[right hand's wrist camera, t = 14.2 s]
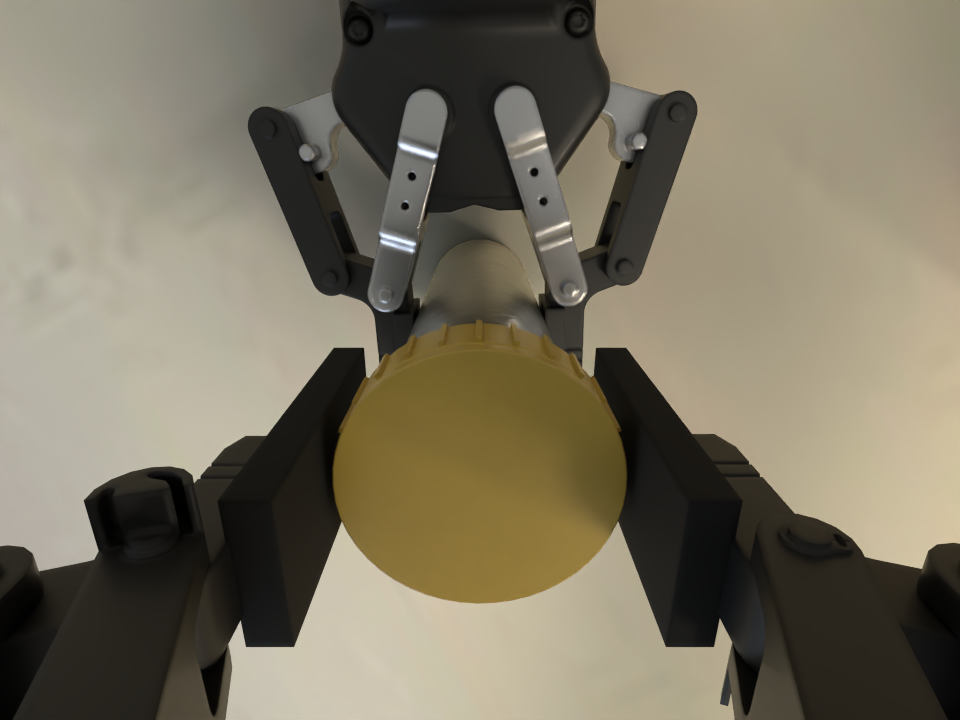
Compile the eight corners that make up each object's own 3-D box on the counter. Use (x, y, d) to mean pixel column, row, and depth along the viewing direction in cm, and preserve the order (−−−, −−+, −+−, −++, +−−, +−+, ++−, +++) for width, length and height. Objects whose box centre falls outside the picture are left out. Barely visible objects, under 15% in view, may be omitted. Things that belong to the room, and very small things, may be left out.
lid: (585, 288, 11) (603, 310, 9) (630, 526, 12) (651, 577, 11) (310, 355, 11) (282, 386, 10) (393, 573, 13) (381, 629, 11)
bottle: (515, 228, 25) (572, 342, 10) (535, 319, 27) (613, 544, 11) (421, 252, 26) (331, 398, 10) (446, 340, 27) (402, 587, 12)
